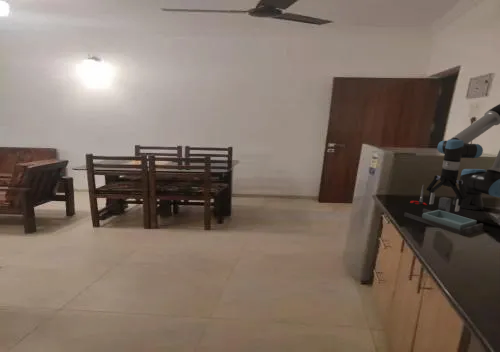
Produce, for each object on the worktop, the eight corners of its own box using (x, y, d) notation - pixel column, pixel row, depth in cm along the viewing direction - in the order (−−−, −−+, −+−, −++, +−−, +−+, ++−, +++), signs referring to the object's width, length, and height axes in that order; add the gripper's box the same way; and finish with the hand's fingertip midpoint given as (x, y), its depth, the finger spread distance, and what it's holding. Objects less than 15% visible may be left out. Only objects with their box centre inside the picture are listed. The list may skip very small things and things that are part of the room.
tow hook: (408, 202, 196) (413, 205, 187) (410, 182, 194) (416, 184, 185) (422, 203, 195) (428, 206, 186) (425, 182, 193) (431, 185, 184)
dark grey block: (441, 214, 172) (443, 196, 170) (448, 216, 169) (451, 198, 166) (436, 215, 170) (439, 197, 168) (444, 217, 167) (447, 199, 165)
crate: (437, 216, 164) (438, 209, 163) (475, 228, 148) (476, 220, 148) (421, 220, 157) (422, 213, 156) (459, 233, 142) (460, 225, 141)
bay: (423, 213, 172) (424, 206, 171) (481, 231, 147) (483, 223, 147) (403, 218, 164) (404, 210, 163) (462, 238, 139) (463, 229, 138)
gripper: (423, 165, 173) (417, 201, 177) (472, 173, 151) (464, 215, 156) (431, 164, 176) (425, 200, 181) (480, 172, 155) (472, 213, 159)
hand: (443, 207), depth 168 cm, fingers open, 13 cm apart
